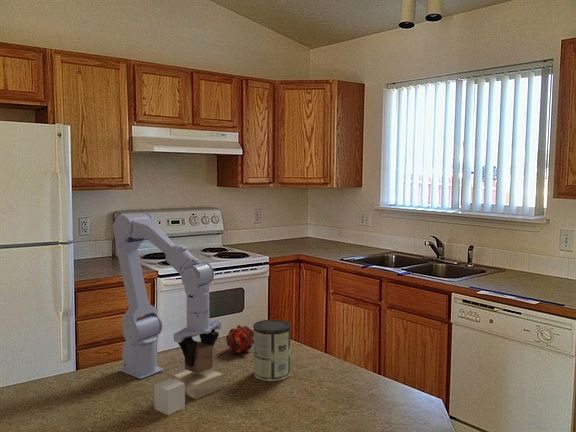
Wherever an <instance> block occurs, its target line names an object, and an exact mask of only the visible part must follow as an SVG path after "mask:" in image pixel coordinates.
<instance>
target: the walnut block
mask: <svg viewBox="0 0 576 432" xmlns="http://www.w3.org/2000/svg"><path fill="white" fill-rule="evenodd" d="M197 342H198V343H197V346H196V350H195V362H194V366H192V367H191V366H188V365H186V361H185V360H184V370H185V371H186V370H189V371H192V372H194V373H197V374H199V373H202V372H204V371H206V370H209V369H213V365H214V364H213V362H214V361H213V355H214V354H213V349H214V346H213V345H210V344H206V343H203V342H201V341H197Z"/></svg>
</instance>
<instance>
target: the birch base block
mask: <svg viewBox="0 0 576 432" xmlns="http://www.w3.org/2000/svg"><path fill="white" fill-rule="evenodd" d="M172 379H175V380H177V381H180V382H183V383H185V396H187V397H190V398H192V399H195V400H197V399H200V398H201V397H204V396H207V395H209V394H212V393H215V392H217V391H219V390H221V389H224V373H221V372H218V371H216V370H215V369H213V368H211V369H209V370H206V371H204V372H202V373H199V374H197V373H194V372H192V371H189V370H186V369H185V370H184V371H181V372H178V373H175V374H173V378H172Z"/></svg>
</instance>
